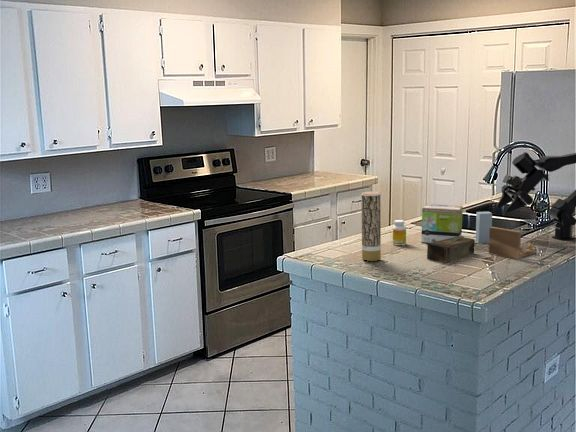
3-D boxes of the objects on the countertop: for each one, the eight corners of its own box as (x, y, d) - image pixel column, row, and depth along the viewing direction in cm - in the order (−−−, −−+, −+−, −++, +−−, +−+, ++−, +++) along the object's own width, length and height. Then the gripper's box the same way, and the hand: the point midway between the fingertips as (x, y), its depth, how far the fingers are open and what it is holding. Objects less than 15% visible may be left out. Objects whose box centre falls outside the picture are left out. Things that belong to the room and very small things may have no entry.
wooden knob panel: (508, 247, 237) (509, 222, 235) (537, 253, 228) (538, 226, 226) (488, 253, 230) (489, 227, 228) (517, 259, 220) (518, 232, 218)
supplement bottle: (405, 246, 245) (406, 222, 243) (392, 245, 246) (392, 222, 244) (406, 242, 250) (406, 219, 248) (392, 242, 251) (392, 219, 249)
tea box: (421, 243, 249) (421, 207, 246) (425, 237, 258) (425, 203, 255) (459, 245, 243) (459, 208, 240) (462, 239, 252) (462, 204, 249)
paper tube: (369, 263, 222) (368, 195, 217) (358, 259, 228) (357, 192, 223) (384, 260, 225) (384, 193, 220) (373, 256, 231) (373, 191, 226)
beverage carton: (475, 254, 230) (476, 237, 229) (443, 264, 218) (443, 246, 217) (458, 250, 236) (458, 233, 235) (425, 260, 225) (425, 242, 223)
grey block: (487, 240, 249) (488, 211, 247) (491, 242, 246) (492, 213, 243) (475, 240, 249) (476, 212, 247) (478, 243, 246) (479, 213, 243)
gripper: (506, 165, 251) (479, 192, 253) (526, 170, 233) (496, 200, 235) (524, 183, 253) (497, 210, 255) (545, 190, 235) (516, 219, 237)
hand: (501, 209), depth 245 cm, fingers open, 9 cm apart
